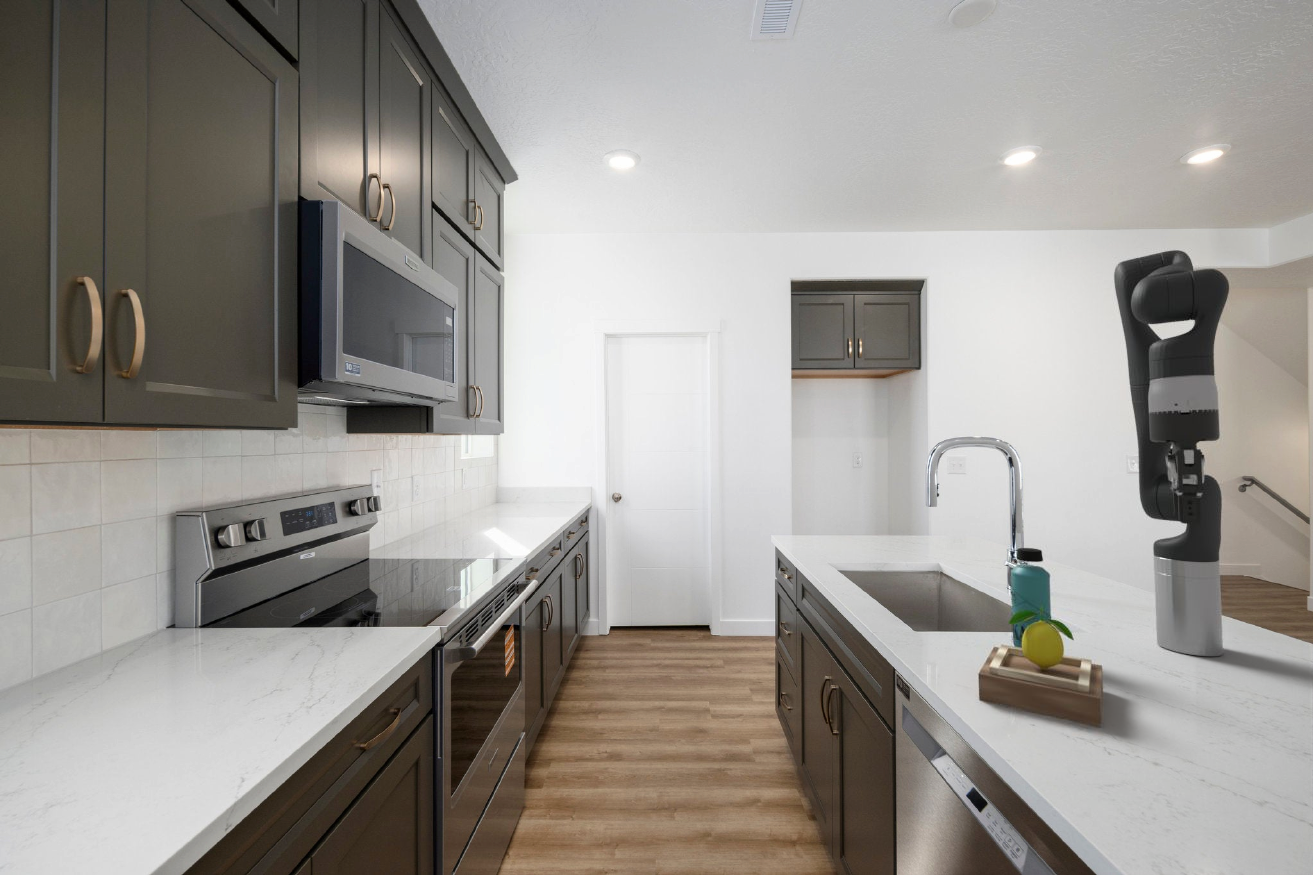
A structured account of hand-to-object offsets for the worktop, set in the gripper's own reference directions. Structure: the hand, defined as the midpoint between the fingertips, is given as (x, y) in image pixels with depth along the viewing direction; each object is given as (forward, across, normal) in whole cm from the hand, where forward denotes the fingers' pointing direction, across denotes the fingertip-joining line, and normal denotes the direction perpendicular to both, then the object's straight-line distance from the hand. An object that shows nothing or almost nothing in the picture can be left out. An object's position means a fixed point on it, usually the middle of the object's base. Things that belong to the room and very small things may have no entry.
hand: (1186, 520), depth 83 cm
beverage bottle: (+28, -14, -21) cm, 38 cm away
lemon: (+24, +5, -18) cm, 31 cm away
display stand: (+28, +5, -18) cm, 34 cm away
